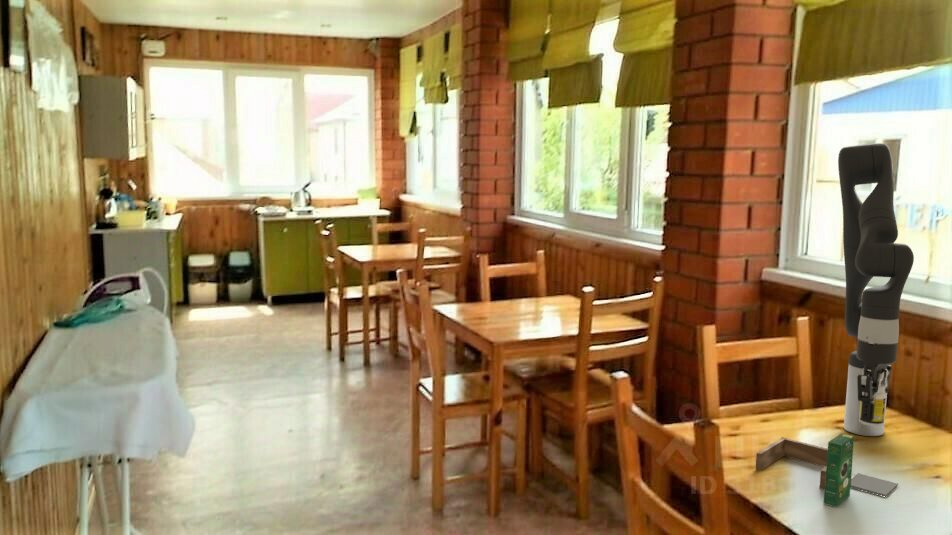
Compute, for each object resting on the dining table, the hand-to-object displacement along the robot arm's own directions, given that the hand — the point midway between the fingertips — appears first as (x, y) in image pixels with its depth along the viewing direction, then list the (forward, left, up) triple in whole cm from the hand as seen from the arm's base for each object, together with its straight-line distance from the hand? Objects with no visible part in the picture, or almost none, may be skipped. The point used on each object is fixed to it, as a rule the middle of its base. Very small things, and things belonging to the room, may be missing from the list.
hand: (871, 416), depth 164 cm
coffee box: (+12, -2, -15) cm, 20 cm away
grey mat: (0, +1, -15) cm, 15 cm away
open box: (+2, -13, -15) cm, 20 cm away
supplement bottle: (0, 0, -2) cm, 2 cm away
